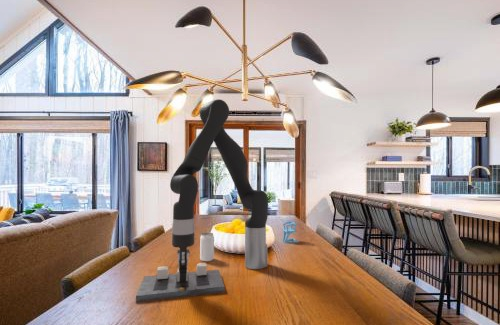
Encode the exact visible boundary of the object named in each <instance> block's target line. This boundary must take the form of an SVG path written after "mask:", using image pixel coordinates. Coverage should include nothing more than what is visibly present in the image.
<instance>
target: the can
mask: <svg viewBox="0 0 500 325" xmlns="http://www.w3.org/2000/svg"><path fill="white" fill-rule="evenodd" d="M199 242H200V243H199V245H200V246H199V252H200V253H199V260H200V261H201V262H203V263H207V262H212V261H214V260H215V237H214V233H213V232H204V233H203V232H202V233H201V235H200V238H199Z"/></svg>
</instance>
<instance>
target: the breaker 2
mask: <svg viewBox="0 0 500 325" xmlns="http://www.w3.org/2000/svg"><path fill="white" fill-rule="evenodd" d="M207 266H208V265H207V262H203V263H197V264H196V272H197V276H199V275H207V271H208V269H207Z"/></svg>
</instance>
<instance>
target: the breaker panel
mask: <svg viewBox="0 0 500 325" xmlns="http://www.w3.org/2000/svg"><path fill="white" fill-rule="evenodd" d="M221 293H222V294H223V293H225V285H224V281H223V278H222V275H221V272H220V270H219V269H210V270H207V275H199V276H197V271H192V272H191V271H190V272H189V271H188V281H186V283H180V281H179V282H177V273H168V278H167V279H157V275H146V276H145V275H144V276H143V278H142V281H141V283H140V285H139V287H138V290H137V292H136V294H135V303H142V302H143V303H144V302H150V301H153V302H154V301H159V300H167V299H168V300H169V299H178V298H186V297H198V296H205V294H206V295H213V294H221Z"/></svg>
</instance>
